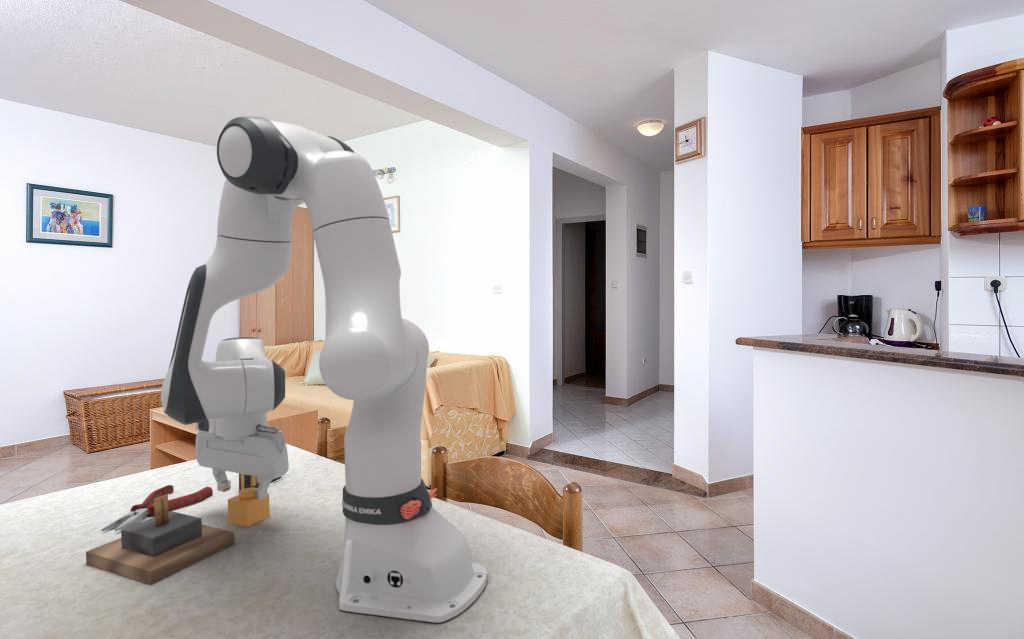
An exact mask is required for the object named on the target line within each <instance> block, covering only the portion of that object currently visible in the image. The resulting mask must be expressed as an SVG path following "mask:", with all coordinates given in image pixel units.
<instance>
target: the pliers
mask: <svg viewBox="0 0 1024 639" xmlns="http://www.w3.org/2000/svg"><path fill="white" fill-rule="evenodd" d="M174 489H175V488H174V485H172V484H168V485H165V486H163V487H160V488H157V489H155V490H154V491H152V492H151V493H149V494H148V496H146V498H145V499H144V500H143V502H142V503H140V504H134V505H133V506H131V508H130V512H128V513H126V514H124V515H123V516H121V517H119V518H118V519H116V520H114V521H113V522H111V523H109V524H108V525H106V526H104V527H103V528H101V529H100V530H101V532H104V531H105V532H106V531H109V530H113V529H114V533H115V532H118V531H121V530H122V529H124V528H127V527H129V526H132V525H135V524H137V523H140V522H143V521H144V520H147V519H149V518H153V517H155V502H154V499H155V498H157V497H161V496H163V495H168V494H169V495H171V494H173V493H174V492H175V490H174ZM213 493H214V492H213V487H210V486H205V487H203V488H202V489H200V490H198V491H194V493H189V494H187V495H183V496H179V497H176V498H172V499H168V512H169V511H172V512H174V511H176V510H179V509H184V508H186V507H189V506H194V505H196V504H198V503H201V502H203V501H205V500H207V499H208V498H210V497H212V496H213ZM169 495H168V496H169ZM206 498H207V499H206Z"/></svg>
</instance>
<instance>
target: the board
mask: <svg viewBox="0 0 1024 639" xmlns="http://www.w3.org/2000/svg"><path fill="white" fill-rule="evenodd" d="M168 500H169V495H163V496H161V497H157V498H155V499H154V502H155V503H154V504H155V517H150V518H147V519H144V520H143V521H141V522H139V523H137V524H134V525H132V526H129V527H126V528H124V529H121V530H120V538H118V539H115V540H112V541H109V542H107V543H105V544H102V545H100V546H97V547H95V548H92V549H90V550H87V551H85V558H86V559H85V561H86V564H85V565H88V566H91V567H94V568H98V569H101V570H104V571H107V572H110V573H113V574H117V575H120V576H123V577H126V578H129V579H131V580H135V581H138V582H141V583H143V584H147V585H154V584H155V583H157V582H160V581H161V580H163V578H164V579H165V578H168V577H169V576H171V575H173V574H176V573H178V572H180V571H181V570H184V569H186V568H188V567H189V566H192V565H194V564H196V563H199V562H200V561H202V560H204V559H206V558H208V557H210V556H213V555H215V554H216V553H218V552H220V551H222V550H224V549H226V548H228V547H231V546H232V545H235V532H234V531H231V530H226V529H223V528H222V529H221V528H219V527H218V528H217V527H213V526H211V525H210V526H209V525H205V524H202V518H201V517H198V516H194V515H189V514H186V513H181V512H176V511H169V512H168Z"/></svg>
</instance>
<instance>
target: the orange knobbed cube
mask: <svg viewBox="0 0 1024 639" xmlns="http://www.w3.org/2000/svg"><path fill="white" fill-rule="evenodd" d="M255 489H258V488H255V487H250V488H245V489H242V490H240V491H239V490H238V495H235V496H233V497H230V498H228V499H227V514H228V517H227V519H228V520H227V521H228V522H227V523H228V524H232V525H236V526H240V527H245V528H249V527H251V526H253V525H255V524H257V523H259V522H262V521H264V520H266V519H268V518H270V512H271V511H270V493H267V497H266V498H264V499H262V500H259V499H255V498H254V490H255Z"/></svg>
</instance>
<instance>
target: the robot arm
mask: <svg viewBox="0 0 1024 639" xmlns="http://www.w3.org/2000/svg"><path fill="white" fill-rule="evenodd" d="M216 157H217V162H218V166H219V168H220V170H221V172H222V174H223V176H224V177H225V181H224V185H223V188H222V192H221V198H220V201H219V210H218V216H217V217H218V218H217V230H216V232H217V234H216V243H215V247H214V249H213V251H212V254H211V256H210V258H209V259H208V261H206V263H204V264H202V265H200V266H197V267H195V269H194V271H193V273H191V275H190V276H191V277H190V280H189V282H188V285H187V288H186V292H185V297H184V301H183V304H182V309H181V314H180V318H179V323H178V328H177V332H176V336H175V341H174V345H173V350H172V354H171V359H170V363H169V366H168V369H167V373H166V374H165V376H164V380H163V382H162V386H161V389H160V390H161V391H160V400H161V406H162V409H163V413H164V414H165V415H167V416H168V418H170V419H172V420H173V421H176V422H178V423H179V424H182V425H184V426H188V425H194V426H195V427H194V428H195V430H196V431H197V433H196V436H195V458H196V462H197V464H198V466H200V467H203V468H210V469H212V473H211V474H212V475H213V478H214V479H215V482H216V486H217V487H216V488H217V491H218V492H222V493H226V492H228V491H230V490H231V488H232V486H231V483H232V482H231V480H229V479H228V475H227V472H231V473H235V474H239V473H240V474H245V475H250V476H256V477H258V482H260V484H259V487H258V489H255V490H254V498H255V499H259V500H262V499H264V498H266V497H267V494H268V488H269V487H270V485H271V484H270V483H271V481H272V479H276V478H279V477H281V476H282V477H283V476H285V475H286V474H287V473H288V471H289V468H290V467H289V466H290V465H289V463H290V462H289V455H288V447H287V443H286V440H285V438H286V436H285V435H284V433H282V431H281V430H280V429H279V427H277V426H268V412H271V411H274V410H276V408H278V407H279V405H281V403H282V402H283V401H284V400H285V398H286V370H285V369H284V368H283V367H282V366H281V365H279V364H278V363H277V362H276V361H274V360H272V359H268V357H267V356H266V350H265V344H264V341H263V340H262V339H261V338H258V337H254V336H252V337H251V336H250V337H249V336H240V337H238V336H236V337H229V338H224V339H223V340H220V341H218V344H217V347H216V353H215V361H204V360H203V356H204V352H205V347H206V341H207V337H208V333H209V329H210V324H211V322H212V318H213V316H214V315H215V314H216V312H217V311H218V310H220V309H221V308H223V307H224V306H226V305H228V304H229V303H232V302H234V301H236V300H239V299H242V298H245V297H248V296H251V295H256V294H258V293H261V292H263V291H266V290H268V289H269V288H271V287H273V286H274V285H276V284H277V283H279V281H281V280H282V279H283V278H284V276H285V275H286V274H287V272H288V271H289V267H290V261H291V254H292V241H293V240H292V237H293V236H292V234H293V233H292V232H293V215H294V213H295V211H296V209H297V208H298V207H299V206H300V205H303V204H305V206H306V209H307V210H308V212H307V213H308V215H309V216H308V217H309V220H310V226H311V230H312V234H313V236H312V237H313V240H314V244H315V247H316V253H317V258H318V261H319V262H318V263H319V266H320V270H321V276H322V280H323V287H324V297H325V298H324V299H325V300H324V301H325V303H324V304H325V306H324V307H325V338H324V343H323V345H322V348H321V350H320V354H319V358H318V366H319V373H320V376H321V379H322V380H323V381H322V382H324V384H325V386H326V387H327V388H328V389H329V390H330V391H331V392H332V393H334V394H335V395H336V396H338V397H339V398H342V399H345V400H348V401H353V403H352V408H351V409H352V410H351V414H350V419H349V421H348V424H347V426H346V428H345V433H344V436H343V438H344V439H343V441H344V444H343V445H344V477H345V478H344V480H345V483H344V484H345V485H344V486H343V488H342V500H341V505H342V514H343V516H344V518H345V519H344V521H345V522H344V535H343V546H342V553H341V558H340V565H339V569H338V573H337V577H336V580H335V588H336V590H337V593H338V595H339V596H338V597H339V598H338V609H339V610H340V611H343V612H350V613H351V612H352V613H357V614H358V613H359V614H367V615H372V616H373V615H374V616H379V617H380V616H382V617H388V618H389V617H390V618H396V619H405V620H413V621H418V622H419V621H421V622H429V623H436V624H437V623H443V622H446V621H447V620H451V619H453V618H454V617H456V616H458V615H459V614H462V613H463V612H464V611H466V609H467V608H469V607H470V606H471V605H472V604H473V603H474V602H475V601H476V600H477V599H478V597H479V596H480V595H481V594H482V592H483V591H484V589H485V587H486V586H487V581H488V573H487V567H486V566H485V565H482V564H480V563H477V562H474V561H473V559H472V553H471V548H470V544H469V541H468V539H467V537H466V535H465V534H463V533H462V532H461V531H460V530H459V529H458V528H457V527H456V526H454V525H453V524H452V523H451V522H450V521H448V520H447V518H446V517H444V516H443V515H442V514H441V513H440V512H439V511H437V510H436V508H434V507H433V502H432V499H434V498H435V497H437V495H438V493H436V492H437V490H438V488H437V487H435V488H433V489H432V490H430V491H428V489H427V485H426V483H425V481H424V480H423V478H422V442H421V440H422V438H421V436H422V420H423V419H422V418H423V411H424V403H425V396H426V395H425V392H426V383H427V382H426V381H427V371H428V370H427V367H428V359H429V354H430V353H429V352H430V347H429V346H430V344H429V340H428V338H427V336H426V334H425V333H424V331H423V330H422V329H421V328H420V327H419V326H418V325H416V324H415V323H413V322H412V321H411V320H409V319H407V318H403V316H402V311H401V309H402V308H401V295H400V293H401V292H400V290H401V289H400V285H401V284H400V283H401V282H400V280H401V277H402V275H401V274H402V270H401V265H400V262H399V257H398V253H397V247H396V244H395V240H394V236H393V231H392V228H391V227H392V226H391V222H390V219H389V214H388V211H387V210H388V209H387V205H386V203H385V200H384V197H383V194H382V192H381V191H382V190H381V187H380V185H379V183H378V180H377V178H376V175H375V174H374V171H373V169H372V167H371V165H370V163H369V162H368V160H366V158H364V157H363V156H362V155H360V154H359V153H356V152H355V150H353V148H351V146H349V145H348V144H346V143H345V142H343V141H342V140H340V139H338V138H336V137H333V136H330V135H329V136H328V135H325V134H322V133H319V132H316V131H315V130H314V131H313V130H310V129H307V128H305V127H304V126H301V125H298V124H294V123H290V122H284V121H277V120H268V119H267V118H265V117H262V116H239V117H235V118H232V119H230V120H229V121H228V122H227V123H226V124H225V125H224V126H223V127H222V130H221V132H220V134H219V136H218V139H217V143H216Z"/></svg>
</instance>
